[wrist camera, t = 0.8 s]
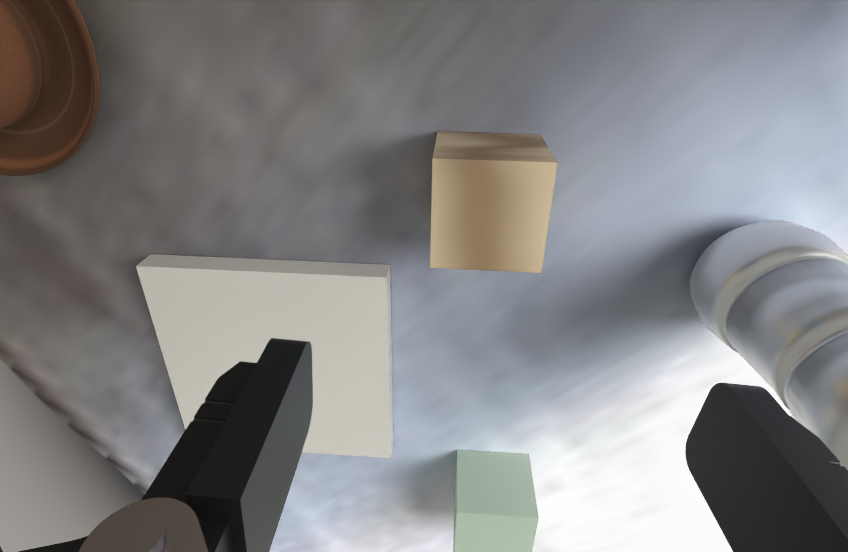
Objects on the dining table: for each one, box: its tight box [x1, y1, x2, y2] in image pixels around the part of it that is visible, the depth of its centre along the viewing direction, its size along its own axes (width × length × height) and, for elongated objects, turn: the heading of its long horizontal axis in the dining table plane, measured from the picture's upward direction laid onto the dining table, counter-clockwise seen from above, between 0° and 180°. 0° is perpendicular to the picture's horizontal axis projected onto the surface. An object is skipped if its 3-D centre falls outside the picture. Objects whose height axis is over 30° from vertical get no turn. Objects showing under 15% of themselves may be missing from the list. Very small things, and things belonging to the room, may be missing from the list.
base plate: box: [136, 254, 394, 458], centre depth 31 cm, size 14×14×2 cm
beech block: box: [430, 131, 558, 273], centre depth 23 cm, size 5×5×5 cm
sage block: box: [453, 450, 538, 552], centre depth 34 cm, size 5×5×5 cm
